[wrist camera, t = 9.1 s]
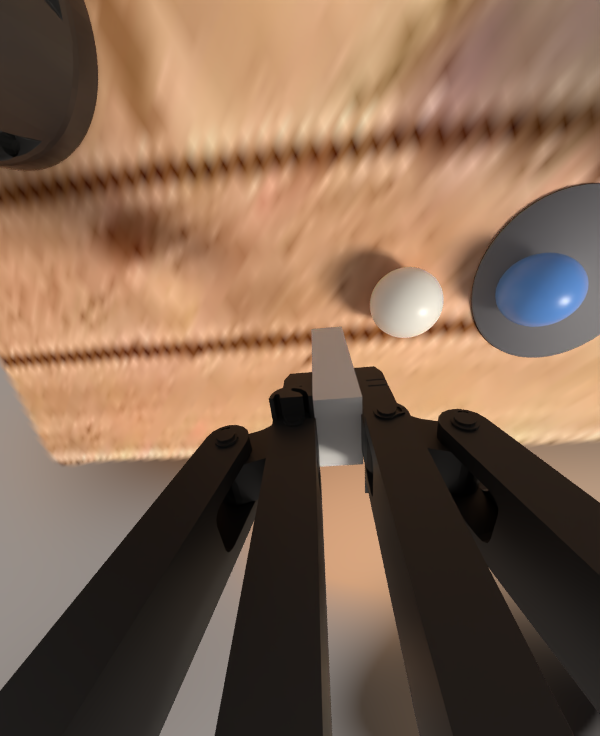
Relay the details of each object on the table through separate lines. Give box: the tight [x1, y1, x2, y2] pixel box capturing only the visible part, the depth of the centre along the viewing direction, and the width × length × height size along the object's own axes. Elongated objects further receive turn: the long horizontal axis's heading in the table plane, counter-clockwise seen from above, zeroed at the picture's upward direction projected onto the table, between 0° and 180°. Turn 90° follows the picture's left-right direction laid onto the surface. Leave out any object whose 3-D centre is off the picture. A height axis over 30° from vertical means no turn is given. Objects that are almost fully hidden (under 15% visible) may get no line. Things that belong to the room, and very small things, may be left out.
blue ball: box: [495, 253, 588, 327], centre depth 22 cm, size 6×6×6 cm
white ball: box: [370, 267, 443, 338], centre depth 23 cm, size 6×6×6 cm
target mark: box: [471, 184, 600, 357], centre depth 24 cm, size 14×14×1 cm
